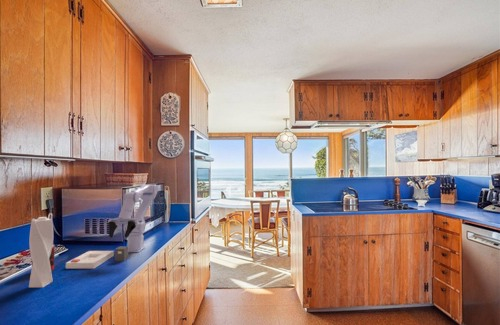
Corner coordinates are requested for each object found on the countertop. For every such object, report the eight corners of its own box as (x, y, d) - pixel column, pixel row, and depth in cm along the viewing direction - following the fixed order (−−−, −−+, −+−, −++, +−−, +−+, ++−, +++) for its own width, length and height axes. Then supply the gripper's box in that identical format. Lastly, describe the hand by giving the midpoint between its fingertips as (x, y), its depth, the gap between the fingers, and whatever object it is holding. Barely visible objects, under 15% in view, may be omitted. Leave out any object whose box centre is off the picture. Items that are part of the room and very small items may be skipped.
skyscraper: (58, 280, 110) (59, 211, 111) (45, 288, 103) (46, 214, 103) (38, 280, 110) (39, 211, 111) (23, 288, 102) (24, 215, 103)
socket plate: (89, 255, 141) (89, 249, 141) (113, 255, 141) (113, 249, 141) (65, 268, 123) (65, 261, 123) (94, 268, 123) (94, 261, 123)
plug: (121, 256, 140) (121, 245, 140) (130, 256, 140) (130, 245, 140) (115, 261, 133) (115, 249, 133) (124, 261, 133) (124, 249, 133)
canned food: (28, 272, 119) (28, 247, 119) (48, 266, 126) (49, 243, 126) (37, 275, 115) (37, 249, 115) (57, 269, 122) (58, 245, 122)
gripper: (109, 208, 137) (100, 233, 129) (138, 208, 138) (130, 233, 129) (114, 215, 143) (106, 239, 134) (142, 215, 143) (135, 239, 134)
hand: (118, 236), depth 132 cm, fingers open, 7 cm apart
